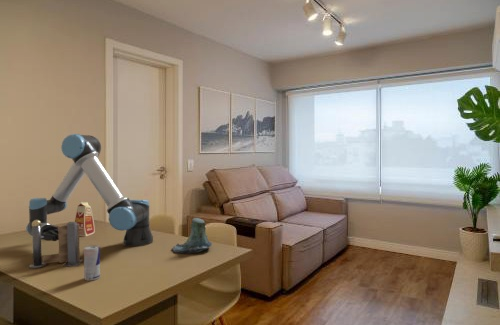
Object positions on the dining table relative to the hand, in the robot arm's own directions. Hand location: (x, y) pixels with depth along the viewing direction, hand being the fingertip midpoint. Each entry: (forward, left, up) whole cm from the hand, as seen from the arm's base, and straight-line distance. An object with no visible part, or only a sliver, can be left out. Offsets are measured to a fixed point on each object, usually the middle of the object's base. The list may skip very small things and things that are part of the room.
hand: (70, 239), depth 149 cm
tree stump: (-51, -18, -10) cm, 55 cm away
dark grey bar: (-4, +5, -9) cm, 11 cm away
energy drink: (-21, +21, -10) cm, 31 cm away
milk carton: (+21, -48, -10) cm, 53 cm away
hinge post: (+10, +8, -9) cm, 16 cm away
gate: (+2, +3, -9) cm, 10 cm away
